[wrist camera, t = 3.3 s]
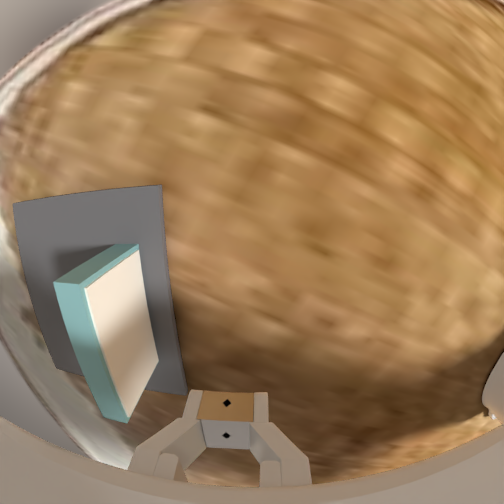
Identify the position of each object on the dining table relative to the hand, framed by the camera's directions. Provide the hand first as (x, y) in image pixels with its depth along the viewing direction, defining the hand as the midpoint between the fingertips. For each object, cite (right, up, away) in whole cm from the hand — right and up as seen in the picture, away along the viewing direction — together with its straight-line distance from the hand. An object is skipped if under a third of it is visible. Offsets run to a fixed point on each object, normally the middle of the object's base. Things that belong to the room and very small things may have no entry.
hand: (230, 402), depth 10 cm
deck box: (-7, +2, +8) cm, 11 cm away
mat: (-11, +2, +9) cm, 15 cm away
